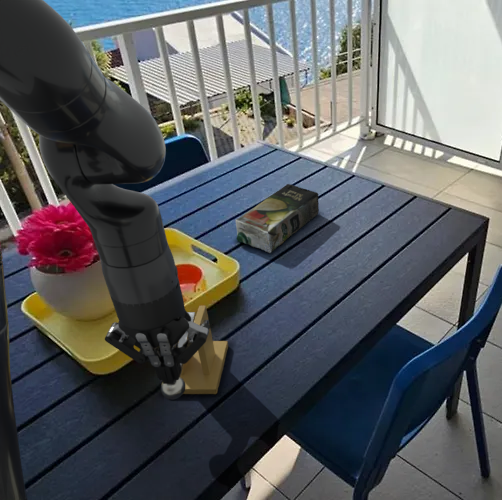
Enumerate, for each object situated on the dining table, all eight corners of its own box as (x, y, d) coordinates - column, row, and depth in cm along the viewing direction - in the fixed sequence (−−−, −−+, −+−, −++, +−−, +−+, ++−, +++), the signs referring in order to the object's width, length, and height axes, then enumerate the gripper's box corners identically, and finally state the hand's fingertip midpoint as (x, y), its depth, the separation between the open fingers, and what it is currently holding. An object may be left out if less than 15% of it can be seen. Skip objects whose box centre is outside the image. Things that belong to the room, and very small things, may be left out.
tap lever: (185, 403, 68) (179, 393, 66) (161, 403, 68) (155, 393, 66) (202, 321, 77) (198, 310, 74) (181, 321, 77) (176, 310, 74)
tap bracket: (216, 394, 77) (205, 340, 70) (164, 394, 76) (147, 340, 69) (228, 345, 85) (219, 293, 78) (181, 345, 84) (167, 292, 77)
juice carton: (269, 256, 105) (266, 232, 101) (233, 243, 109) (229, 219, 105) (320, 214, 119) (320, 192, 116) (287, 204, 123) (285, 181, 120)
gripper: (70, 301, 54) (111, 402, 64) (193, 302, 54) (215, 402, 65) (97, 259, 60) (131, 357, 70) (208, 260, 60) (225, 357, 71)
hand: (171, 378), depth 67 cm, fingers closed
